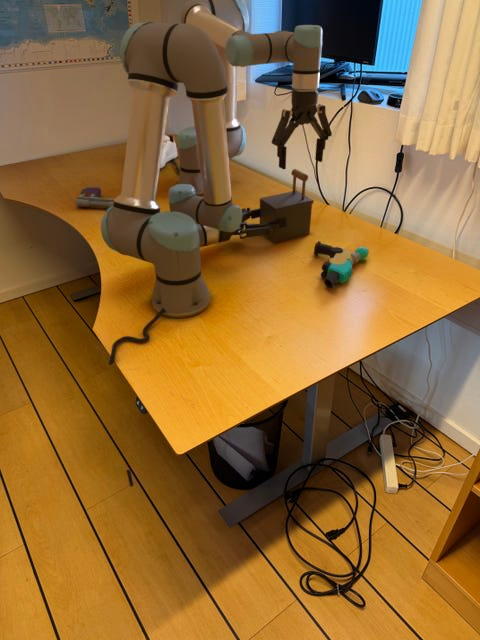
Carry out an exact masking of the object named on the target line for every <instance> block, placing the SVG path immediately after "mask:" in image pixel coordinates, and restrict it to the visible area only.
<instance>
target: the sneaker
mask: <svg viewBox="0 0 480 640" xmlns="http://www.w3.org/2000/svg"><path fill="white" fill-rule="evenodd" d="M177 157H179V153H178V148H177V144H176V140H175V136H174V135H173V134H165V135H164V143H163V150H162V157H161V164H160V169H162V168H164V167H165V166H166V164H167V163H168V162H170V161H173V160H172V159H173V158H174V159H176V158H177Z"/></svg>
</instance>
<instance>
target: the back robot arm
mask: <svg viewBox="0 0 480 640" xmlns="http://www.w3.org/2000/svg"><path fill="white" fill-rule="evenodd" d="M181 23H186V24H191V25H194V26H196V27H198V28H200V29H201V30H202V31H204V32H205V33H206V34H207V35H208V36H209V38H210V39H211V40H212V42H213V43H214V45H215V46H216V48H217V50H218V52H219V55H220V57H221V59H222V62H223V65H224V69H225V73H226V78H227V89H228V93H227V95H226V96H225V97H224V107H225V120H226V132H227V145H228V158H229V159H233V158H235V157H238V156H241V155H242V154H243V153H244V151H245V148H246V145H247V134H246V131H245V128H244V126H243V125H241V121H240V120H239V119H238V118H237V114H238V112H237V108H238V67H241V68H245V67H250V66H251V67H252V66H259V65H269V64H279V63H290V64H292V78H291V79H292V80H291V81H292V82H291V88H292V90H291V97H290V98H291V99H290V100H291V101H290V102H291V109H282V110H281V117H280V120H279V122H278V124H277V127H276V129H275V132H274V134H273V137H272V138H271V139H272V140H271V144H272V145H274V146H276V148H277V149H276V156H277V158H278V168H280V169H282V170H286V168H287V147H288V146H286V144H287V142H288V141H289V139H290V138H291V137H292V135H293V133H294V132H295V130H296V129H297V128H298V127H299V126H303V125H310V126H311V127H312V129H313V130H314V132H315V133H316V135H317V136H318V137H317V138H316V145H315V158H314V160H315V161H317V162H319V163H322V162H323V157H324V150H325V149H326V143H327V142H326V141H329V138H330V137H332V136H333V133H332V129H331V126H330V123H329V120H328V117H327V113H326V105H324V104H320V103H319V104H318V102H319V90H318V89H319V88H320V72H321V71H320V69H321V60H322V50H323V49H322V48H323V28H322V26H320V25H317V24H301V25H296V26H295V27H294V32H292V31H288V30H276V31H273V32H265V33H250V32H248V30H249V27H250V15H249V10H248V6H247V5H246V2H245V1H244V0H188V1H186V3H185V4H183V7H182V9H181V13H180V24H181ZM316 114H317V116H318V119H317V117H316ZM318 120H319V122H318ZM319 123H320V124H319ZM177 152H178V160H179V161H178V162H179V165H178V163H177V162H176V160H175V158H173V159H172V160H171V161H173V164H174V165H175V167H176V169H177V172H178V180H177V184H176V185H178V184H189V185H191V186H193V187H194V188H195V192H196V196H200V197H204V196H203V188H202V180H201V172H200V165H199V157H198V149H197V141H196V133H195V125H193V126H188V127H185V128H184V129H182V130H180V132H178V134H177Z"/></svg>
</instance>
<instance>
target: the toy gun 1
mask: <svg viewBox="0 0 480 640" xmlns="http://www.w3.org/2000/svg"><path fill="white" fill-rule="evenodd" d="M114 199H115V198H105V197H103V198H102V189H101V187H100V186H86V187H84V188H82V189H81V191H80V195H79V196H77V197H76V199H75V202H74V204H75V205H76V207H80V208H81V207H82V208H92V209H93V208H94V209H106V210H107V209H109V208H110V207H112V206H113V204H114Z"/></svg>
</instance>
